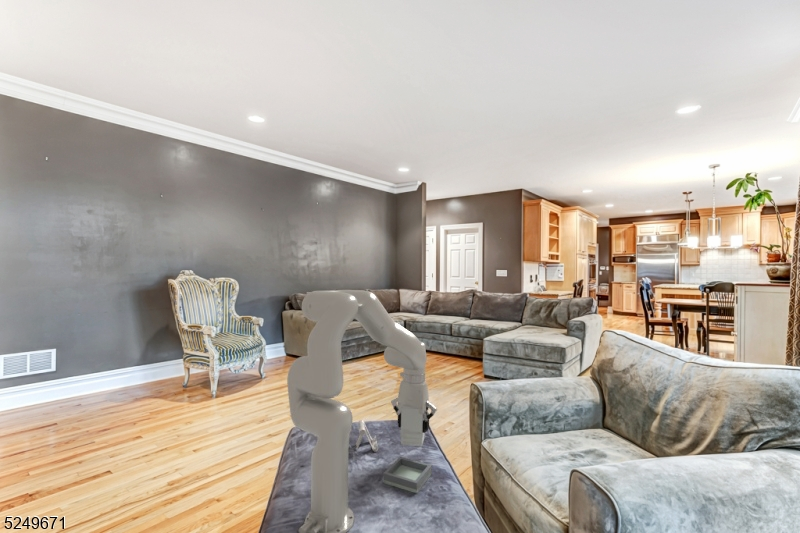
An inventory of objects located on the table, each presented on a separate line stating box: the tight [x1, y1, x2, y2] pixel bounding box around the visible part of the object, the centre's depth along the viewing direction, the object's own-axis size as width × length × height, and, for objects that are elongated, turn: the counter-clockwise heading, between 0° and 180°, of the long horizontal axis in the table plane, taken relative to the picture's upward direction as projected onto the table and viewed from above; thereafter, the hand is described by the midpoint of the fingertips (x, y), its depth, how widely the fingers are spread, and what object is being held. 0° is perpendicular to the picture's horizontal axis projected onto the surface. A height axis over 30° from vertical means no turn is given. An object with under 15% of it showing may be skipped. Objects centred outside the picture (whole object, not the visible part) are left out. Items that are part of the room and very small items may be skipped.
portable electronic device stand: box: [355, 419, 379, 452], centre depth 140 cm, size 9×8×8 cm
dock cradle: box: [382, 456, 433, 494], centre depth 119 cm, size 12×12×3 cm
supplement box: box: [400, 406, 425, 447], centre depth 130 cm, size 7×7×13 cm
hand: (412, 428), depth 130 cm, fingers closed on supplement box, 8 cm apart
